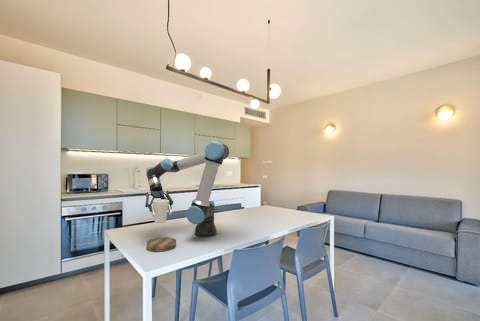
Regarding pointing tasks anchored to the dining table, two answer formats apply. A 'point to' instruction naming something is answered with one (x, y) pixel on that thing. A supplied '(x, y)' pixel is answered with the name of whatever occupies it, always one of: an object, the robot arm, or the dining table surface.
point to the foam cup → (160, 210)
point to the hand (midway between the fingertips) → (162, 214)
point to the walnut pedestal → (161, 244)
